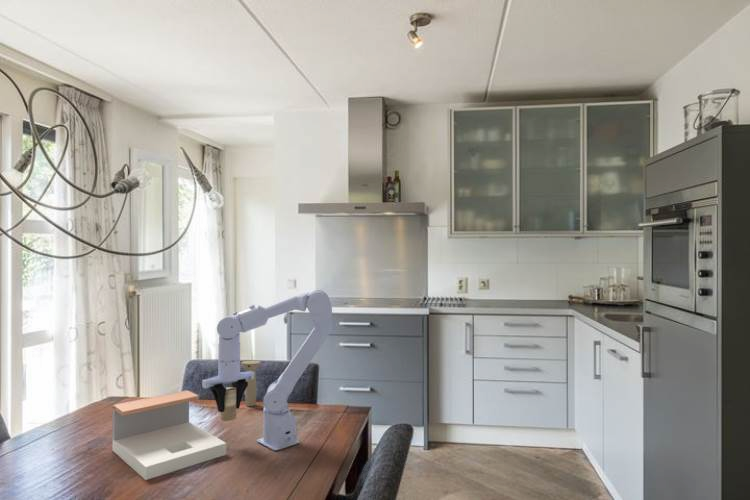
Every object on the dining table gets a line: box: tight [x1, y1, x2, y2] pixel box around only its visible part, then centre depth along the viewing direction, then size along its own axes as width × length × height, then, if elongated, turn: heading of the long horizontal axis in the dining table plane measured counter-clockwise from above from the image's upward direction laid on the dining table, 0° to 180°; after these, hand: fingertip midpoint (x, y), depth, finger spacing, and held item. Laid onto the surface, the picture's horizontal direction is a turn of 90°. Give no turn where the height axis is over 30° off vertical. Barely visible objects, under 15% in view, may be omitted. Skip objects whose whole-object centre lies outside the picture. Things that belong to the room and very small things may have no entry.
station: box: [111, 389, 227, 481], centre depth 124 cm, size 24×20×12 cm
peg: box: [220, 386, 237, 422], centre depth 130 cm, size 4×4×8 cm
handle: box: [240, 360, 262, 407], centre depth 164 cm, size 5×6×15 cm
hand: (228, 409), depth 130 cm, fingers closed on peg, 4 cm apart
